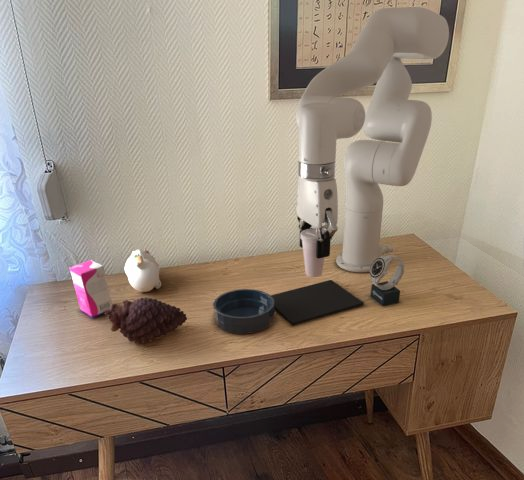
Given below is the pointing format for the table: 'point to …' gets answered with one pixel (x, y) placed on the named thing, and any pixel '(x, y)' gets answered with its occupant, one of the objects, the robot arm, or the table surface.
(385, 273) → the watch
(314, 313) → the mat
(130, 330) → the pine cone
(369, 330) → the table surface
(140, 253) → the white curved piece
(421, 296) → the table surface
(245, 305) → the dish
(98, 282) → the supplement box
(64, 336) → the table surface
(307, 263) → the smoothie
